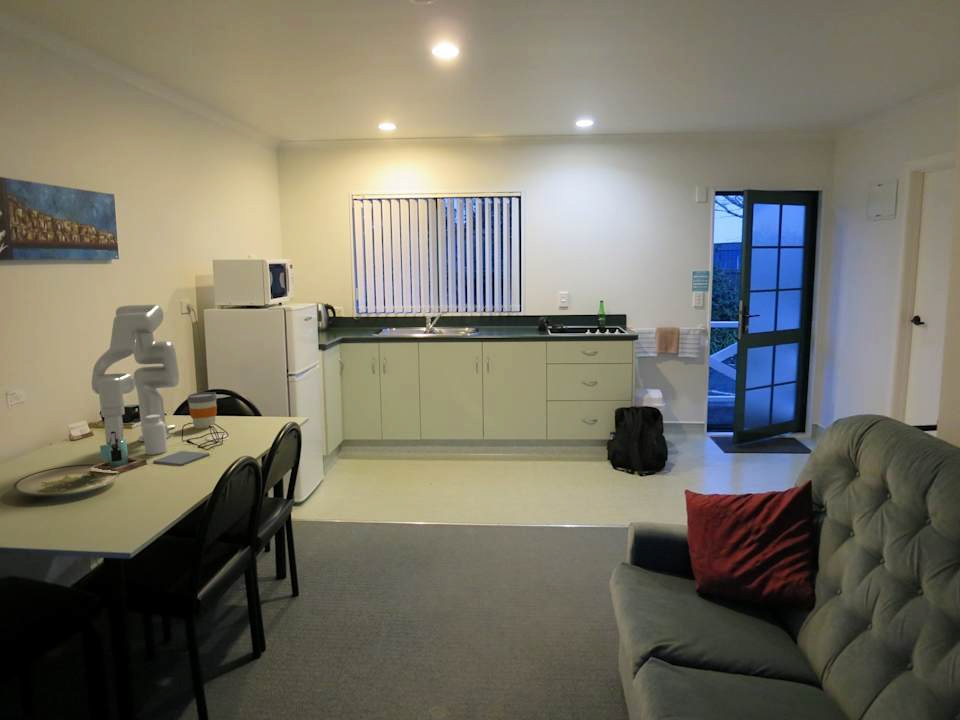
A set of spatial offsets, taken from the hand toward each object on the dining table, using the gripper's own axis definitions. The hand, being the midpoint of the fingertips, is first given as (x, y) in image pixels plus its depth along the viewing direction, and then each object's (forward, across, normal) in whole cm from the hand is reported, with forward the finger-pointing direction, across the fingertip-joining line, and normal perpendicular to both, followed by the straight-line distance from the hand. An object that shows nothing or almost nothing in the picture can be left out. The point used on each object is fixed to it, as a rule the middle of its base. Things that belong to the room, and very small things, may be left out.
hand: (118, 457), depth 239 cm
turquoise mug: (+3, 0, -1) cm, 3 cm away
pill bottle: (+4, -16, +11) cm, 20 cm away
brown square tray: (+4, 0, 0) cm, 4 cm away
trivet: (+4, -1, +21) cm, 21 cm away
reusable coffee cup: (+4, -56, +29) cm, 63 cm away
